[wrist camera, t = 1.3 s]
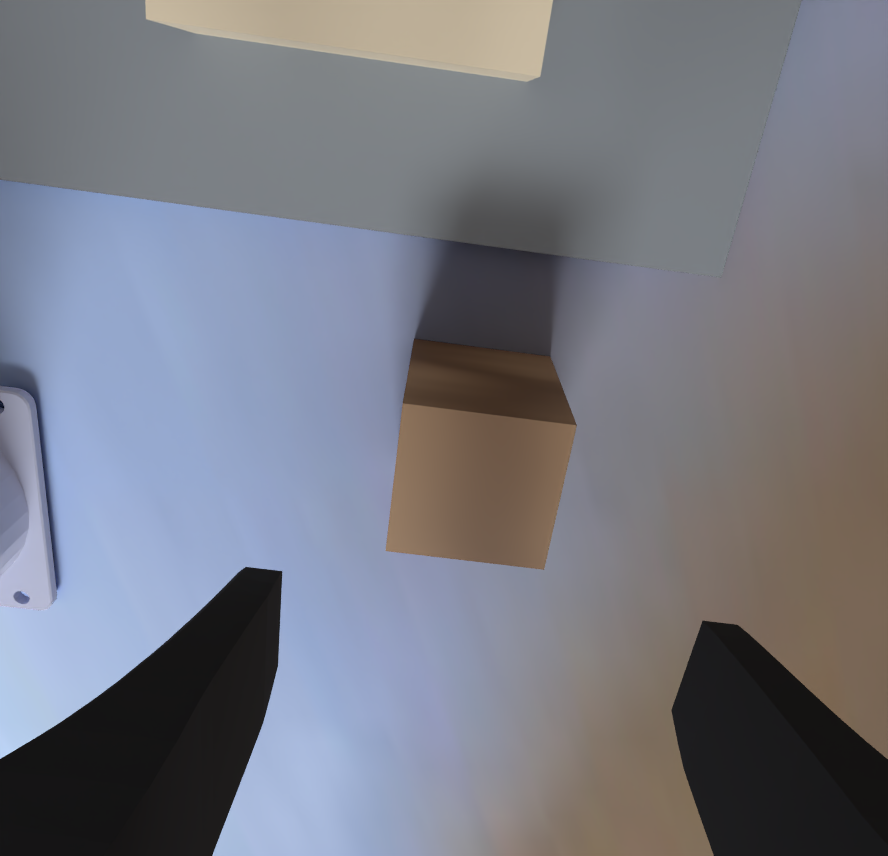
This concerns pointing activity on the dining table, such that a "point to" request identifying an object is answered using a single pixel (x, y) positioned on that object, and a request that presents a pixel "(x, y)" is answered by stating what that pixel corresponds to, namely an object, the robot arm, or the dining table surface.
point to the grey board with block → (409, 114)
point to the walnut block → (479, 455)
